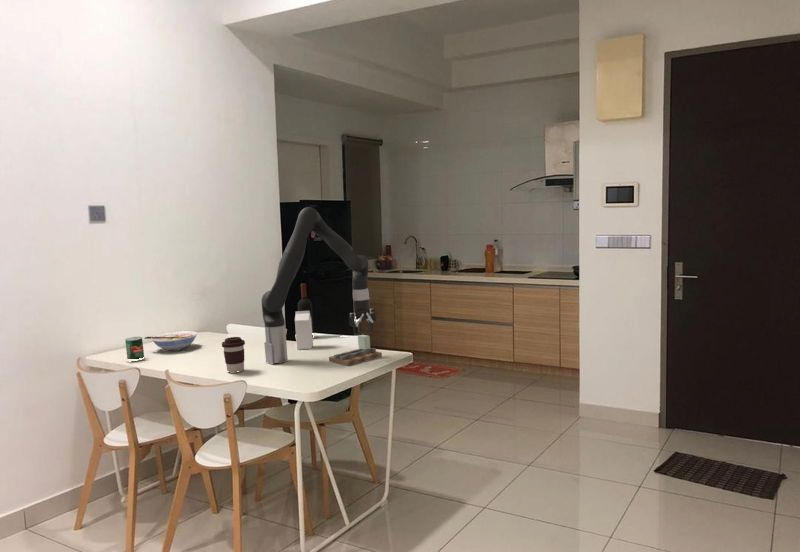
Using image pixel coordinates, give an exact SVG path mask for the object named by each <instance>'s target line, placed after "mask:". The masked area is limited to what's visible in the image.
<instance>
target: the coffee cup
mask: <svg viewBox="0 0 800 552" xmlns="http://www.w3.org/2000/svg"><path fill="white" fill-rule="evenodd" d="M245 341H246V340H244V339H242V338H241V337H240V336H230V337H227V338H225V339H224V340H223V342H221V347H222V348H223V355H224V363H225V366H226V372H227V371H229V372H237V371H242V370H245V348H244V346H245V344H246V342H245ZM242 372H243V371H242Z"/></svg>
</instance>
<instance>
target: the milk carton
mask: <svg viewBox="0 0 800 552" xmlns="http://www.w3.org/2000/svg"><path fill="white" fill-rule="evenodd" d="M294 324H295V325H294V326H295V327H294V328H295V341H296V349H297V351H300V350H311V349H312V348H313V347H314V338H313V335H312V322H311V315H310V311H298V310H297V311H295V316H294Z"/></svg>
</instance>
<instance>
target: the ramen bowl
mask: <svg viewBox="0 0 800 552" xmlns="http://www.w3.org/2000/svg"><path fill="white" fill-rule="evenodd" d="M197 335H198V333H197V332H196V331H189V330H188V331H186V330H185V331H173V332H166V333H162V334H157V335H155V336H146V337H144V339H145V340H146V339H148V340H149V339H150V340H152V342H153V343H154V344H155V345H156V346H157V347H158V348H160V349H164V350H167V351H169V350H177V351H181V350H183V349H185V348H186V347H188V346H190V345H191V344H193V342H194V341H195V339H196V337H197Z"/></svg>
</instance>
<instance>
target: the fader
mask: <svg viewBox="0 0 800 552" xmlns="http://www.w3.org/2000/svg"><path fill="white" fill-rule="evenodd" d="M370 337H371V336H370V335H365V334H358V335H357V345H358V348H357V349H362V350H361V351H363V350H367V349H371V339H370Z"/></svg>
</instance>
